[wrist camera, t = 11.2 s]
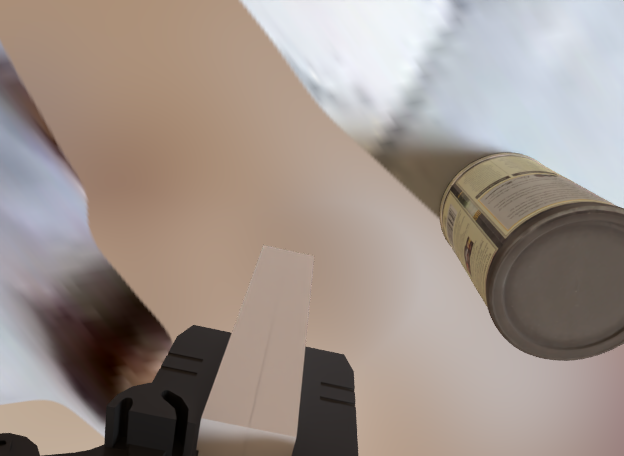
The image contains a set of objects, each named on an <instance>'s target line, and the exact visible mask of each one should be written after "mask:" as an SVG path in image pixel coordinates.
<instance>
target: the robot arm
mask: <svg viewBox="0 0 624 456" xmlns="http://www.w3.org/2000/svg"><path fill="white" fill-rule="evenodd" d="M313 265H314V256H313V255H308V254H303V253H299V252H294V251H289V250H285V249H280V248H275V247H270V246H266V245H263V248H262V251H261V253H260V256H259V259H258V262H257V265H256V267H255V270H254V273H253V276H252V278H251V281H250V284H249V287H248V289H247V292H246V295H245V298H244V300H243V303H242V306H241V309H240V312H239V315H238V317H237V320H236V323H235V326H234V328H233V331H232V333H230V332H225V331H220V330H215V329H211V328H206V327H201V326H196V325H193V326H191V327H190V328H188V329H187V330H186V331H184V332H183V333H181V334H180V335H179V336H177V338H176V340H175V342H174V343H173V345H172V347H171V349H170V351H169V353H168V356H166V358H165V360H164V362H163V364H162V365H161V369H159V371H158V373H157V375H156V376H155V378H154V380H153V382H152V383H147V384H142V385H137V386H133V387H131V388H129V389H127V390H125V391H123V392H121V393H119V394H118V395H117V396H116V397H115V398H114V399H113V400H112V401H111V402H110V403H109V404H108V405H107V408H106V427H105V444H104V445H102V446H99V447H97V448H94V449H91V450H87V451H81V452H76V453H66V454H55V455H44V456H358V442H357V424H356V408H355V393H354V372H353V370H352V368H351V366H350V364H349V363H348V361H347V359H346V357H345V356H344V355H343V354H339V353H334V352H329V351H324V350H319V349H315V348H310V347H305V346H306V335H307V325H308V315H309V305H310V295H311V285H312V274H313ZM0 456H40V454H39V451H38V448H37V445H35V444H34V443H33V442H32V441H30V440H29V439H28V438H27V437H24V436H20V435H15V434H11V433H2V434H0Z"/></svg>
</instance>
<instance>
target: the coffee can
mask: <svg viewBox="0 0 624 456" xmlns="http://www.w3.org/2000/svg"><path fill="white" fill-rule="evenodd" d="M440 223H441V228H442V232H443V234H444V236H445V239H446V240H447V242H448V243H449V244H450V246H451V247H452V249H453V250H454V252H455V253H456V255H457V257H458V258H459V260H460V262H461V264H462V265H463V267H464V269H465V270H466V272H467V273H468V275H469V277H470V279H471V281H472V282H473V284H474V286H475V287H476V289H477V291H478V293H479V294H480V296H481V297H482V299H483V301H484V302H485V304H486V306H487V307H488V310H489V313H490V316H491V318H492V320H493V322H494V324H495V326H496V327H497V329H498V330H499V332H500V333H501V334H502V336H503V337H504V338H505V339H506V340H507V341H508V342H509V343H511V344H512V345H513V346H514V347H516V348H518V349H519V350H521V351H523V352H525V353H527V354H530V355H533V356H536V357H539V358H544V359H550V360H564V361H568V360H578V359H584V358H589V357H593V356H596V355H599V354H602V353H605V352H607V351H610V350H612V349H614V348H616V347H617V346H620V345H622V344H624V208H621V207H618V206H616V205H614V204H612V203H610V202H609V201H607V200H605V199H603V198H601V197H599V196H598V195H596V194H594V193H592V192H590V191H589V190H587V189H585V188H583V187H581V186H580V185H578V184H576V183H574V182H573V181H571V180H569V179H567V178H565V177H563V176H561V175H560V174H558V173H556V172H554V171H552V170H551V169H549V168H547V167H545V166H544V165H542V164H541V163H540V162H538V161H537V160H535V159H533V158H531V157H528V156H525V155H522V154H516V153H499V154H493V155H490V156H486V157H483V158H481V159H479V160H477V161H475V162H472V163H471V164H469V165H468V166H467V167H465V168H464V169H463V170H462V171H460V172H459V173H458V174H457V175H456V176H455V177H454V179H453V180H452V181H451V183H450V184H449V186H448V187H447V189H446V191H445V193H444V196H443V197H442V202H441V207H440Z"/></svg>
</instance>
